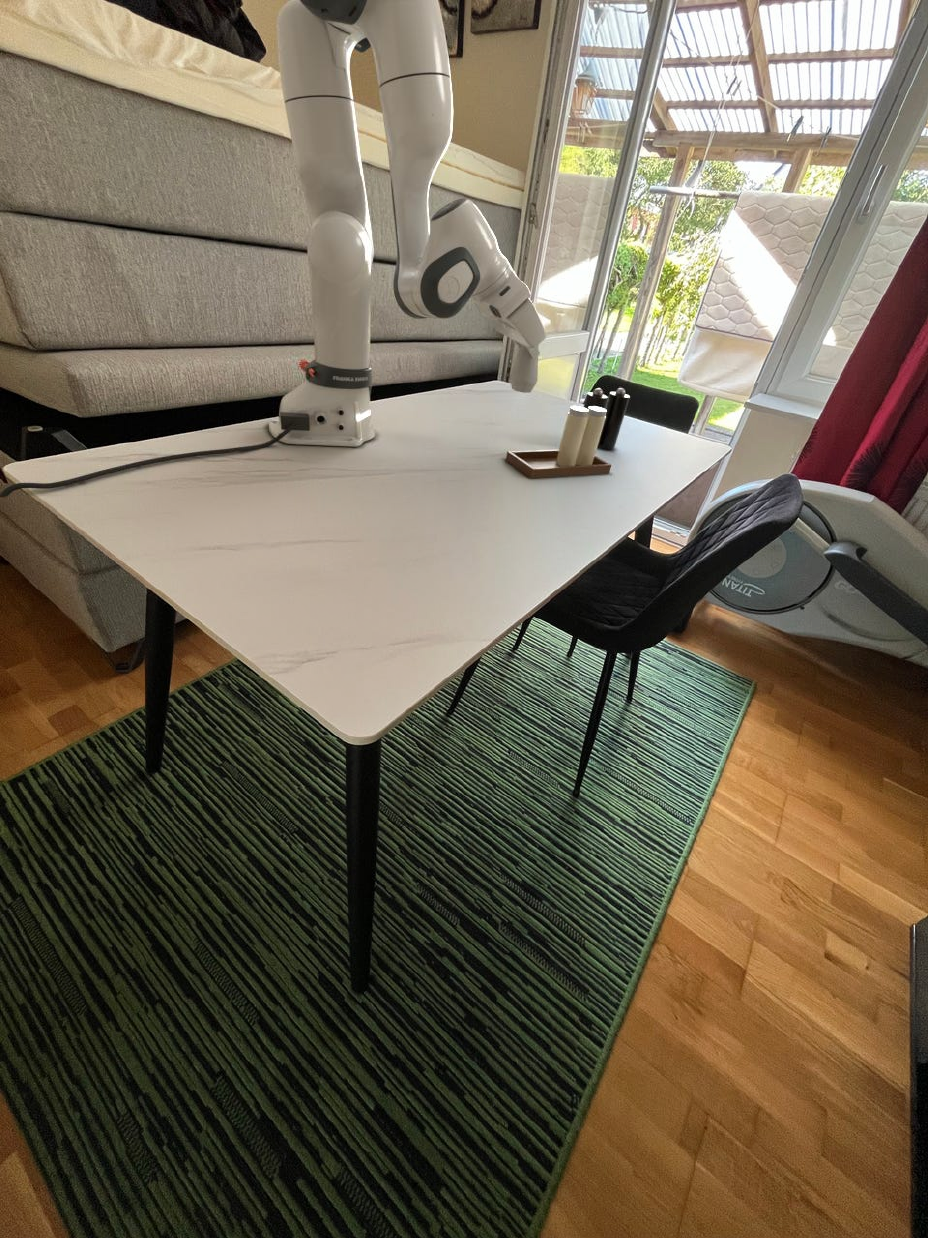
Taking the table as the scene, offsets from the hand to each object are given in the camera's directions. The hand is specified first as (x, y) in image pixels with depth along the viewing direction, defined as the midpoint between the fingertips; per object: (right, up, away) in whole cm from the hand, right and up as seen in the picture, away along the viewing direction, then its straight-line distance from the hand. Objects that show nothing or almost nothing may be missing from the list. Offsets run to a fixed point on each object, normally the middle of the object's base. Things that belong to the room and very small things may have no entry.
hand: (531, 353), depth 107 cm
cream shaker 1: (+9, -20, +11) cm, 25 cm away
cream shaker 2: (+13, -19, +13) cm, 27 cm away
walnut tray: (+7, -21, +10) cm, 24 cm away
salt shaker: (-2, -6, +4) cm, 7 cm away
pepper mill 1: (+16, -12, +23) cm, 31 cm away
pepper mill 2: (+23, -10, +27) cm, 37 cm away
